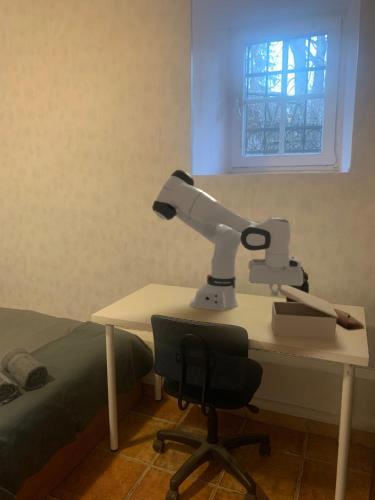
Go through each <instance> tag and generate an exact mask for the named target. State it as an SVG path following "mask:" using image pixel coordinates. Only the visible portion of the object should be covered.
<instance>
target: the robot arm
mask: <svg viewBox="0 0 375 500" xmlns="http://www.w3.org/2000/svg"><path fill="white" fill-rule="evenodd" d="M194 185H195V180H194V178H193V177H192V175H191V174H190V173H188V172H186V171H184V170H181V169H177V170H176V169H175V171H173V173H171V175H170V176H169V178H168V180H167V181H166V182H165V183H164V185H163V186H162V188H161V190H160V191H159V193H158V195H157V197H156V199H155V200H154V202H153V204H152V207H151V208H152V211H153V212H154V213H155V215H156V216H157V217H158V218H159V219H162V220H165V221H170V220H173V219H174V218H175V217H176V218H178V219H179V220H180V221H181V222H183V223H184V224H186V225H187V226H189V227H190V228H191V229H193V230H194V231H195V232H197V233H198V234H200V235H201V236H202V237H204V238H205V239H206V240H208V241H209V242H210V243H212V244H214V252H213V255H212V258H211V267H210V268H211V272H210V273H211V274H210V273H208V274H207V275H206V283H205V284H203V285H202V286H201V287H200V288H198V289H197V291H196V293H195V297H193V298H192V299H191V300H190V303H189V304H190V306H191V307H192V308H198V309H207V310H213V311H225V310H230V309H234V308H236V307H237V306H238V301H237V297H236V284H237V283H236V276H235V274H236V273H235V271H236V257H237V253H238V248H239V246H240V245H241V244H242V246H243V248H245V249H246V250H248V251H253V252H254V251H261V250H264V251H265V252H264V258H263V259H262V258H260V259H258V258H253V259H251V260H249V262H248V270H249V274H248V282H250V284H259V285H260V284H261V285H262V284H263V285H268V287H269V289H270V293H271V294H270V295H271V296H275V297H276V296H278V295H279V292H280V291H279V290H280V289H281V285H294V286H301V285H302V284H303V272H302V269H301V267H302V266H301V265H302V263H301V260H300V259H299V258H298V257H294V256H291V255H290V249H289V247H290V246H289V245H290V243H291V225H290V222H289V220H287V219H286V218H283V217H279V216H269V217H268V218H266V219H265V220H262V221H257V220H250V219H248V218H246V217H244V216H242V215H240V214H239V213H237V212H235V211H233V210H231V209H229V208H228V207H226V206H225V205H224V204H222V203H221V202H220V201H218V200H217V199H216V198H215V197H213V196H212V195H210V194H209V193H207V192H206V191H203V190H202V189H200V188H198V187H195V186H194ZM273 285H277V288H276V289H274V288H273Z"/></svg>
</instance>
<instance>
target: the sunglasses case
mask: <svg viewBox="0 0 375 500" xmlns="http://www.w3.org/2000/svg"><path fill="white" fill-rule="evenodd" d="M332 308H333V309H334V311H335V312H336V314H337V316H338V318H337V317H336V318H337V320H336V323H337V324H339V325H340V326H342V327H344V328H345V329H347V330H359V329H362V328H364V327H365V325H364V324H363V323H362V322H361V321H359V319H356V318H355V317H354V316H352V315H351V314H350V313H348V312H345V311H343V310H340V309H337V308H334V307H332Z"/></svg>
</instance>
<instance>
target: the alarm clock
mask: <svg viewBox="0 0 375 500" xmlns="http://www.w3.org/2000/svg"><path fill="white" fill-rule="evenodd" d="M300 267H301V269H302V272H303V284H302V285H301V286H294V285H289V286H291V287H294V288H296V289H298V290H301V291H303V292H306V293H308V294H310V293H309V291H310V285H309V282H308V280H309V275H308V273H307V272H306V271H305V269H303V267H302V266H300ZM285 300H286V301H285V302H297V303H300V302H298V301H295V300H293V299H291V298H288V297H286V296H285Z"/></svg>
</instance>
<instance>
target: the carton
mask: <svg viewBox="0 0 375 500" xmlns="http://www.w3.org/2000/svg"><path fill="white" fill-rule="evenodd" d="M336 320H337V318H336V317H334V316H332V315H329V314H327V313H324V312H322V311H320V310H317V309H315V308H312V307H310V306H308V305H305V304H303V303H297V302H286V301H275V300H273V301H272V305H271V327H272V332H273V337H280V338H291V339H292V338H294V339H308V340H319V341H321V340H322V341H334V342H335V341H336V333H337V330H336V329H337V322H336Z"/></svg>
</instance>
